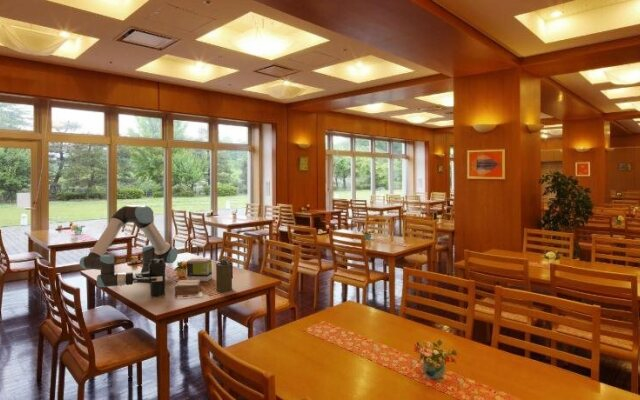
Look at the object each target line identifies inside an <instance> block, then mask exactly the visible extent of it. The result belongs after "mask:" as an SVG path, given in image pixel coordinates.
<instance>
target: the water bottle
mask: <svg viewBox="0 0 640 400" xmlns="http://www.w3.org/2000/svg"><path fill="white" fill-rule="evenodd" d="M166 266H167V263H165V262H164V259H151V262H150V263H149V265H148V268H149V277H150V278H151V277H160V276H162V277H163V281H155V282H151V283H149V287H150V288H149V290H150V296H151V297H152V298H159V297H163V296H165V295H166Z"/></svg>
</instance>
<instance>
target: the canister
mask: <svg viewBox="0 0 640 400" xmlns="http://www.w3.org/2000/svg"><path fill="white" fill-rule="evenodd" d="M215 267H216V270H215V271H216V272H215V273H216V275H215V276H216V278H215V279H216V281H215V282H216V292H218V293H226V292H227V293H228V292H230V291H232V290H233V279H234V276H233V274H234V272H233V270H234V269H233V268H234V267H233V262H232V261H228V260H227V259H224V258H223V259H219V262H216V263H215Z"/></svg>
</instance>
